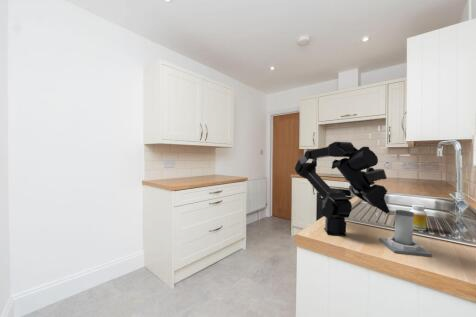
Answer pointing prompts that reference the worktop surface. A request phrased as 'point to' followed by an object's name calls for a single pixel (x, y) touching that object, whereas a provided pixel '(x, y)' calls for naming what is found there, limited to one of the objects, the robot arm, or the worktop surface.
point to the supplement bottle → (419, 217)
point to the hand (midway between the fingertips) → (381, 209)
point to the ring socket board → (405, 247)
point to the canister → (404, 227)
